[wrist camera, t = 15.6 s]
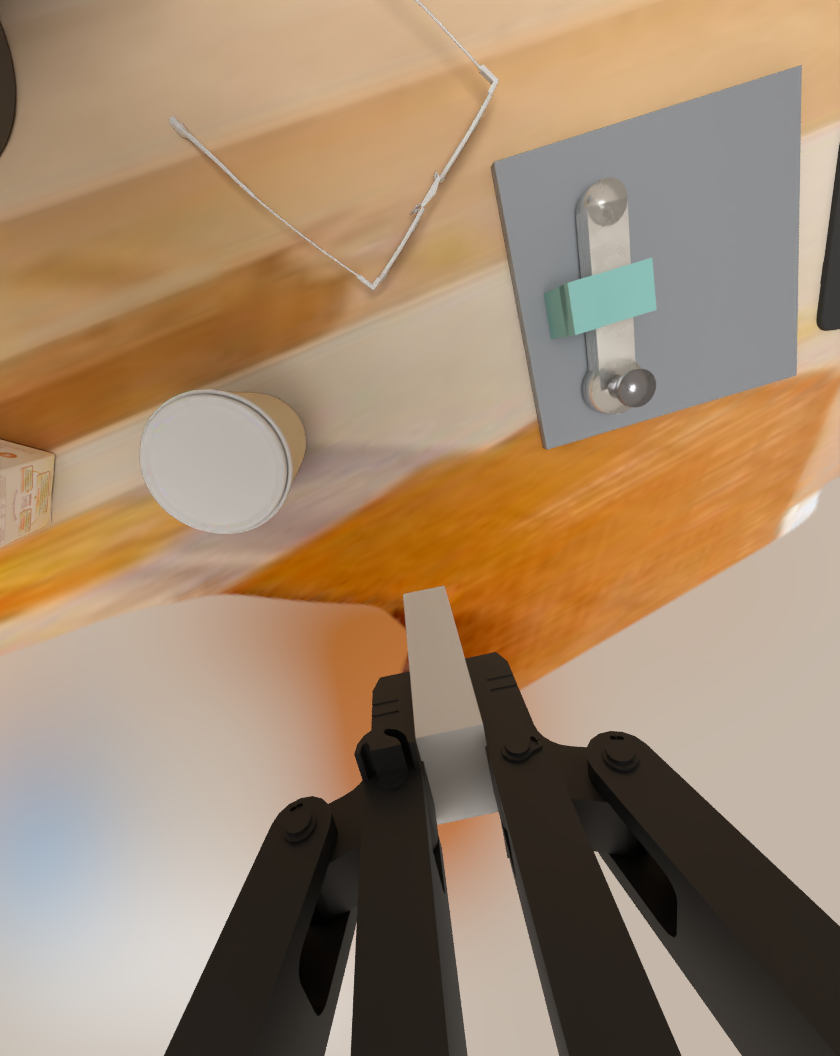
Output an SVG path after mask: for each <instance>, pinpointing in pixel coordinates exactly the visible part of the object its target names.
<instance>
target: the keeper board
mask: <svg viewBox="0 0 840 1056" xmlns="http://www.w3.org/2000/svg"><path fill="white" fill-rule="evenodd" d="M801 74H802V65H800V66H797V67H794V68H791V69H787V70H784V71H781V72H778V73H775V74H771V75H768V76H765V77H762V78H759V79H756V80H752V81H749V82H746V83H743V84H740V85H737V86H733V87H730V88H727V89H724V90H721V91H718V92H714V93H711V94H708V95H705V96H702V97H699V98H695V99H692V100H689V101H686V102H683V103H680V104H676V105H673V106H670V107H667V108H664V109H661V110H657V111H654V112H651V113H648V114H645V115H641V116H638V117H635V118H632V119H629V120H626V121H622V122H619V123H616V124H613V125H610V126H607V127H603V128H600V129H597V130H594V131H591V132H588V133H584V134H581V135H578V136H575V137H572V138H569V139H565V140H562V141H559V142H556V143H553V144H550V145H546V146H543V147H540V148H537V149H534V150H531V151H527V152H524V153H521V154H518V155H515V156H512V157H508V158H505V159H502V160H499V161H496V162H494V163H493V165H492V167H491V170H492V176H493V181H494V186H495V192H496V197H497V202H498V208H499V213H500V218H501V224H502V229H503V234H504V240H505V245H506V251H507V256H508V261H509V267H510V272H511V277H512V283H513V288H514V293H515V299H516V304H517V310H518V315H519V320H520V326H521V331H522V336H523V342H524V347H525V352H526V358H527V363H528V369H529V374H530V379H531V385H532V390H533V395H534V401H535V406H536V411H537V417H538V422H539V428H540V433H541V438H542V444H543V448H545V449H547V450H548V449H551V448H554V447H558V446H561V445H564V444H568V443H571V442H574V441H578V440H581V439H584V438H588V437H591V436H594V435H598V434H601V433H605V432H608V431H611V430H615V429H618V428H621V427H625V426H628V425H631V424H635V423H638V422H641V421H645V420H648V419H652V418H655V417H658V416H662V415H665V414H668V413H672V412H675V411H678V410H682V409H685V408H688V407H692V406H695V405H698V404H702V403H705V402H709V401H712V400H715V399H719V398H722V397H725V396H729V395H732V394H735V393H739V392H742V391H745V390H749V389H752V388H755V387H759V386H762V385H766V384H769V383H772V382H776V381H779V380H782V379H786V378H789V377H792V376H796V373H797V313H798V254H799V194H800V134H801ZM605 177H614V178H617V179H618V180H620V181H621V182H622V183H623V185H624V186H625V188H626V191H627V197H628V216H629V237H630V258H631V264H629V265H626V266H623V267H619V268H616V269H613V270H610V271H606V272H603V273H600V274H597V275H592V276H588V277H585V278H582V279H581V273H580V261H579V249H578V237H577V225H576V207H577V203H578V201H579V199H580V198H581V196H582V195H583V194H584V193H585V192H586V191H587V190H588V189H590V188H591V187H592V186H593V185H594V184H595V183H596V182H598V181H599V180H601V179H603V178H605ZM632 317H633V321H634V342H635V362H636V363H637V364H638V365H639V366H640V367H641V369H646V370H648V371H650V372H651V373H652V374H653V375H654V377H655V380H656V390H655V393H654V395H653V397H652V399H651V400H650V401H649V402H648V403H646V404H645V405H643V406H641V407H635V408H634V407H632V408H631V409H630V410H628V411H626V412H624V413H621V414H608V413H603V412H599V411H596V410H593V409H592V408H590V407H589V406H588V405H587V403H586V402H585V400H584V397H583V393H582V386H583V381H584V378H585V376H586V374H587V372H588V371H589V369H588V357H587V345H586V333H585V332H587V331H591V330H594V329H597V328H601V327H602V326H605V325H609V324H612V323H615V322H619V321H622V320H625V319H628V318H632Z"/></svg>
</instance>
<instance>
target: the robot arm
mask: <svg viewBox="0 0 840 1056" xmlns="http://www.w3.org/2000/svg"><path fill="white" fill-rule="evenodd" d="M14 107H15V83H14V73H13V67H12V61H11V57H10V53H9V49H8V45H7V42H6V39H5V36H4V33H3V30H2V27H1V25H0V152H1V151H2V149H3V147H4V145H5V143H6V140H7V138H8V135H9V132H10V129H11V125H12V121H13V115H14ZM403 598H404V609H405V621H406V633H407V644H408V656H409V667H410V671H409V672H405V673H400V674H396V675H391V676H386V677H381V678H380V679H379V680H378V682H377V684H376V686H375V688H374V690H373V700H372V705H373V707H372V730H371V731H370V732H369V733H367V734H366V735H364V736H363V738H362V739H361V741H360V742H359V743H358V744H357V748H356V751H355V758H356V761H357V764H358V767H359V770H360V773H361V776H362V782H361V783H360V784H359V785H358V786H357V787H356V788H355V789H354V790H353V791H351V792H349V793H348V794H346V795H345V796H343V797H341V798H339V799H337V800H335V801H333V802H331V803H329V804H327V803H326V802H325V801H324V800H323V799H322V798H317V797H313V796H311V797H306V798H300V799H298V800H297V801H295V802H293V803H291V804H289V805H288V806H287V807H286V808H285V809H284V810H282V811H281V812H280V813H279V814H278V816H277V817H276V819H275V820H274V822H273V824H272V825H271V827H270V829H269V832H268V834H267V836H266V838H265V840H264V842H263V844H262V847H261V849H260V851H259V853H258V855H257V857H256V859H255V862H254V864H253V866H252V868H251V870H250V872H249V875H248V877H247V879H246V881H245V883H244V885H243V887H242V889H241V892H240V894H239V896H238V898H237V900H236V903H235V905H234V907H233V909H232V911H231V913H230V915H229V917H228V919H227V922H226V924H225V926H224V928H223V930H222V932H221V934H220V937H219V939H218V941H217V943H216V945H215V947H214V949H213V952H212V954H211V956H210V958H209V960H208V962H207V964H206V967H205V969H204V971H203V973H202V975H201V977H200V979H199V982H198V984H197V986H196V988H195V990H194V992H193V995H192V997H191V999H190V1001H189V1003H188V1005H187V1007H186V1009H185V1012H184V1014H183V1016H182V1018H181V1020H180V1022H179V1025H178V1027H177V1029H176V1031H175V1033H174V1035H173V1037H172V1039H171V1042H170V1044H169V1046H168V1048H167V1050H166V1052H165V1055H164V1056H324V1055H325V1051H326V1046H327V1042H328V1038H329V1034H330V1030H331V1026H332V1022H333V1018H334V1014H335V1009H336V1005H337V1001H338V997H339V992H340V989H341V984H342V980H343V976H344V972H345V968H346V964H347V960H348V956H349V951H350V947H351V943H352V939H353V935H354V930H355V927H356V922H357V931H356V932H357V933H356V952H355V953H356V955H355V975H354V997H353V1018H352V1040H351V1056H467V1048H466V1040H465V1032H464V1024H463V1016H462V1008H461V1000H460V992H459V983H458V975H457V967H456V959H455V951H454V943H453V935H452V927H451V919H450V911H449V903H448V894H447V887H446V878H445V871H444V863H443V854H442V847H441V844H440V840H439V836H438V830H437V824H443V823H448V822H452V821H457V820H462V819H466V818H471V817H476V816H480V815H485V814H490V813H495V812H499V815H500V819H501V824H502V829H503V835H504V840H505V846H506V851H507V857H508V858H509V859H510V863H511V867H512V871H513V874H514V879H515V882H516V886H517V890H518V894H519V898H520V902H521V906H522V910H523V914H524V918H525V922H526V926H527V930H528V934H529V938H530V942H531V945H532V950H533V954H534V958H535V961H536V965H537V969H538V973H539V977H540V981H541V985H542V989H543V993H544V997H545V1001H546V1005H547V1009H548V1013H549V1017H550V1021H551V1025H552V1029H553V1033H554V1037H555V1041H556V1045H557V1048H558V1052H559V1056H681V1054H680V1051H679V1049H678V1047H677V1044H676V1042H675V1040H674V1037H673V1035H672V1033H671V1031H670V1028H669V1026H668V1024H667V1021H666V1019H665V1016H664V1014H663V1012H662V1010H661V1007H660V1005H659V1003H658V1000H657V998H656V996H655V993H654V991H653V989H652V986H651V984H650V982H649V979H648V977H647V975H646V972H645V970H644V968H643V965H642V963H641V961H640V958H639V956H638V954H637V951H636V949H635V947H634V944H633V942H632V940H631V937H630V935H629V933H628V931H627V928H626V926H625V923H624V922H623V919H622V917H621V914H620V912H619V909H618V907H617V905H616V903H615V900H614V898H613V896H612V893H611V891H610V889H609V886H608V884H607V882H606V879H605V877H604V875H603V872H602V870H601V868H600V865H599V863H598V861H597V858H596V856H595V854H594V851H597V852H599V854H600V856H601V857H602V859H603V860H604V862H605V863H606V864H607V866H608V867H609V869H610V870H611V871H612V873H613V874H614V876H615V877H616V879H617V880H618V881H619V883H620V884H621V885H622V887H623V888H624V890H625V891H626V893H627V894H628V895H629V897H630V898H631V900H632V901H633V903H634V904H635V905H636V907H637V908H638V910H639V911H640V912H641V914H642V915H643V917H644V918H645V919H646V921H647V922H648V924H649V925H650V927H651V928H652V929H653V931H654V932H655V934H656V935H657V936H658V938H659V939H660V941H661V942H662V943H663V945H664V946H665V948H666V949H667V950H668V952H669V953H670V955H671V956H672V958H673V959H674V960H675V962H676V963H677V965H678V966H679V967H680V969H681V970H682V971H683V973H684V974H685V976H686V977H687V979H688V980H689V982H690V983H691V984H692V986H693V987H694V989H695V990H696V991H697V993H698V994H699V996H700V997H701V999H702V1000H703V1001H704V1003H705V1004H706V1006H707V1007H708V1008H709V1010H710V1011H711V1013H712V1014H713V1015H714V1017H715V1018H716V1020H717V1021H718V1022H719V1024H720V1025H721V1027H722V1028H723V1030H724V1031H725V1032H726V1034H727V1035H728V1037H729V1038H730V1039H731V1041H732V1042H733V1044H734V1045H735V1047H736V1048H737V1049H738V1051H739V1052H740V1054H741V1055H742V1056H840V926H839V925H837V923H836V922H834V921H833V920H832V919H831V918H830V917H829V916H828V915H827V914H826V913H825V912H824V911H823V910H822V909H821V908H819V906H817V905H816V904H815V903H814V902H813V901H812V900H811V899H810V898H809V897H808V896H807V895H806V894H805V893H804V892H803V891H802V890H800V889H799V888H798V887H797V886H796V885H795V884H794V883H793V882H792V881H791V880H790V879H789V878H787V876H786V875H785V874H783V873H782V872H781V871H780V870H779V869H778V868H777V867H776V866H775V865H774V864H773V863H772V862H771V861H770V860H769V859H768V858H766V857H765V856H764V855H763V854H762V853H761V852H760V851H759V850H758V849H757V848H756V847H755V846H754V845H753V844H752V843H751V842H750V841H749V840H747V839H746V838H745V837H744V836H743V835H742V834H741V833H740V832H739V831H738V830H737V829H736V828H735V827H734V826H733V825H732V824H731V823H729V822H728V821H727V820H726V819H725V818H724V817H723V816H722V815H721V814H720V813H719V812H717V810H715V808H713V807H712V806H711V805H710V804H709V803H708V802H707V801H706V800H705V799H704V798H703V797H702V796H701V795H700V794H699V793H698V792H696V790H694V789H693V788H692V787H691V786H690V785H689V784H688V783H687V782H686V781H685V780H684V779H683V778H681V776H680V775H679V774H677V773H676V772H675V771H674V770H673V769H672V768H671V767H670V766H669V765H668V764H667V763H666V762H665V761H664V760H662V758H660V757H659V756H658V755H657V754H656V753H655V752H654V751H653V750H652V749H651V748H650V747H649V746H648V745H647V744H646V743H644V742H643V741H641V740H640V739H638V738H637V737H635V736H633V735H630V734H627V733H624V732H615V731H609V732H605V733H600V734H598V735H597V736H595V737H594V738H593V739H591V740H590V742H589V744H588V746H587V747H574V746H565V745H560V744H557V743H554V742H552V741H550V740H548V739H547V738H545V737H543V736H542V735H541V734H540V733H539V732H538V731H537V729H536V727H535V726H534V724H533V721H532V719H531V717H530V714H529V712H528V709H527V707H526V705H525V702H524V700H523V697H522V695H521V693H520V690H519V688H518V686H517V683H516V681H515V678H514V676H513V674H512V671H511V669H510V666H509V664H508V662H507V661H506V660H505V659H504V658H503V657H501V656H500V655H499V654H498V653H497V652H494V653H489V654H484V655H480V656H475V657H470V658H464V654H463V650H462V647H461V643H460V640H459V636H458V632H457V629H456V625H455V622H454V618H453V614H452V611H451V607H450V604H449V600H448V596H447V593H446V589H445V586H440V587H435V588H430V589H425V590H421V591H416V592H411V593H406V594H403ZM436 820H437V821H436Z"/></svg>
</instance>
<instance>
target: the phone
mask: <svg viewBox="0 0 840 1056" xmlns="http://www.w3.org/2000/svg"><path fill="white" fill-rule="evenodd" d="M817 326H818V327H819V328H820V329H821V330H825V331H827V330H836V329H840V145H839V151H838V159H837V166H836V174H835V182H834V189H833V197H832V204H831V212H830V219H829V227H828V234H827V242H826V250H825V257H824V262H823V268H822V276H821V287H820V295H819V302H818V310H817Z"/></svg>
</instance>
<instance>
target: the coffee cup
mask: <svg viewBox="0 0 840 1056" xmlns="http://www.w3.org/2000/svg"><path fill="white" fill-rule="evenodd" d="M305 451H306V434H305V430H304V427H303V424H302V422H301V420H300V419H299V417H298V416H297V414H296V413H295V412H294V410H293V409H292V408H291V407H289V406H288V405H287V404H286V403H284V402H283V401H281V400H279V399H277V398H275V397H272V396H270V395H265V394H259V393H247V392H227V391H221V390H215V389H199V390H192V391H188V392H185V393H181V394H179V395H177V396H175V397H172V398H171V399H169V400H168V401H166V402H165V403H163V404H162V405H161V406H160V407H159V408H158V409H157V410H156V411H155V412H154V413H153V414H152V416H151V417H150V419H149V420H148V422H147V424H146V426H145V428H144V431H143V434H142V438H141V444H140V466H141V471H142V475H143V478H144V480H145V483H146V485H147V487H148V489H149V491H150V492H151V494H152V496H153V497H154V498H155V500H156V501H157V502H158V503H159V505H160V506H161V507H162V508H163V509H164V510H165V511H166V512H167V513H169V514H170V515H171V516H173V517H174V518H175V519H177V520H178V521H180V522H182V523H184V524H186V525H188V526H190V527H192V528H195V529H198V530H202V531H206V532H211V533H218V534H234V533H241V532H245V531H249V530H252V529H254V528H256V527H258V526H260V525H262V524H264V523H265V522H266V521H268V520H269V519H271V518H272V517H273V516H274V515H275V514H276V513H277V512H278V511H279V509H280V508H281V507H282V505H283V504H284V502H285V500H286V498H287V496H288V493H289V491H290V488H291V484H292V482H293V480H294V478H295V476H296V474H297V472H298V470H299V468H300V465H301V463H302V461H303V458H304V455H305Z"/></svg>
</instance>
